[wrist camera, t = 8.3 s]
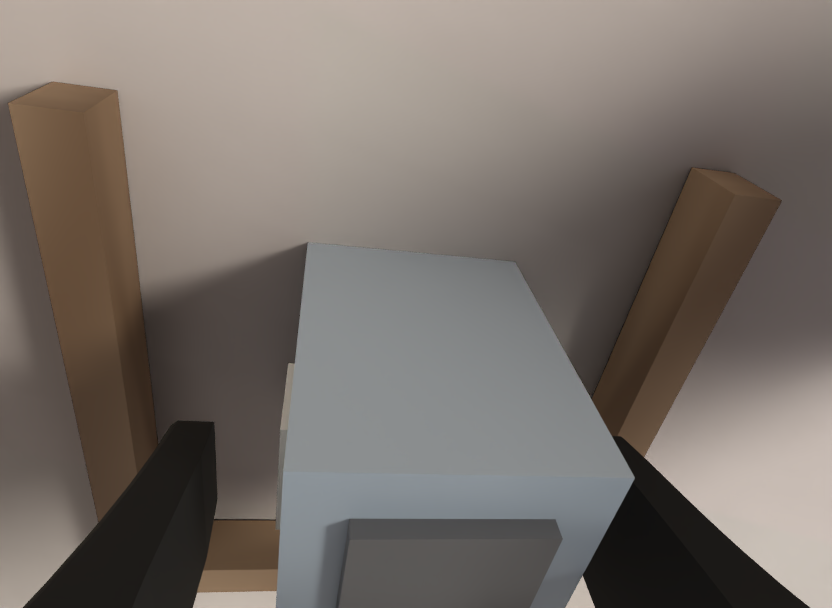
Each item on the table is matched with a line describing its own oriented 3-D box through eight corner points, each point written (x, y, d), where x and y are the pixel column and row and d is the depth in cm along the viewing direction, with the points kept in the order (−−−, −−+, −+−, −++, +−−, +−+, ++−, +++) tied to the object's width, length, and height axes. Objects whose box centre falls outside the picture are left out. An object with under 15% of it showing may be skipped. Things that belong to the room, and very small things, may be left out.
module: (514, 261, 12) (645, 496, 7) (471, 411, 15) (545, 673, 9) (300, 241, 11) (267, 492, 6) (290, 404, 14) (260, 686, 9)
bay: (734, 173, 12) (781, 200, 10) (558, 540, 18) (575, 584, 17) (52, 81, 9) (7, 103, 8) (131, 542, 16) (113, 594, 15)
